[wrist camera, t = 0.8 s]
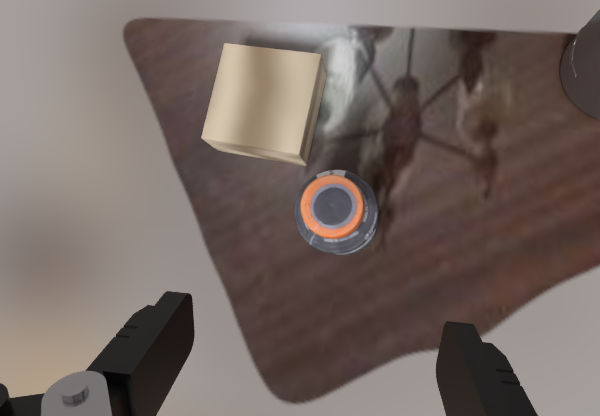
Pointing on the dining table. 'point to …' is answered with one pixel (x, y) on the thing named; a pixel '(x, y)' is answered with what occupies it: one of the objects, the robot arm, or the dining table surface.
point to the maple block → (265, 103)
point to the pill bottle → (337, 212)
